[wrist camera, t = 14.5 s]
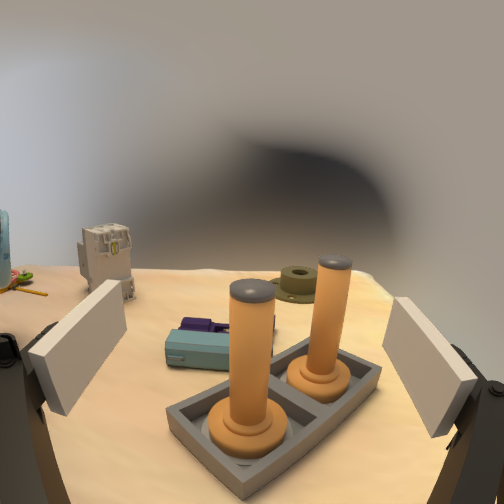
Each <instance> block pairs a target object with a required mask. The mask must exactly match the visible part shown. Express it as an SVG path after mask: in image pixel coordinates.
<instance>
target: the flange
mask: <svg viewBox="0 0 504 504" xmlns="http://www.w3.org/2000/svg"><path fill="white" fill-rule="evenodd" d="M317 274H318V272H317V271H316V270H314V269H311V268H307V267H300V266H292V267H286V268H283V269H282V270H281V277H280V278H276V279H273V280H270V281H269V282H271V283H273V284H276V285H275V286H276V296H275V298H276V299H278V300H281V301H285V302H289V303H297V304H311V303H314V301H315V293H316V284H317ZM289 297H293V298H294V299H291V298H289Z"/></svg>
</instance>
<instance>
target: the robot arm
mask: <svg viewBox="0 0 504 504" xmlns="http://www.w3.org/2000/svg"><path fill="white" fill-rule="evenodd" d="M11 280H12V274H11V262H10V247H9V217H8V213H7V212H6V211H1V210H0V289H2V288H6V287H8V286H9V285H10V283H11ZM126 331H127V327H126V320H125V312H124V304H123V296H122V287H121V281H118V280H109V279H107V280H106V281H105V282H104V283H102V284H101V285H100V286H99V287H98V288H97V289H95V290H94V291H93V292H92V293H91V294H90V295H89V296H87V297H86V298H85V299H84V300H83V301H82V302H81V303H79V304H78V305H77V306H76V307H75V308H74V309H73V310H72V311H71V312H69V313H68V314H67V315H66V316H65V317H64V318H63V319H62V320H61V321H60V322H55V323H53V324H51V325H49V326H47V327H46V328H45V329H44V330H43V331H42V332H41V334H38V335H37V336H36V337H35V339H33V340H32V341H31V342H30V343H29V344H28V345H27V346H25V347H24V348H23V349H22V350H21V351H19V348H18V345H17V342H16V339H15V336H13V335H12V334H9V333H0V504H71V502H70V500H69V497H68V495H67V492H66V489H65V486H64V483H63V480H62V478H61V474H60V471H59V468H58V465H57V462H56V458H55V455H54V451H53V448H52V444H51V440H50V436H49V432H48V428H47V424H46V419H45V415H44V411H43V409H42V407H41V405H42V404H43V403H44V401H45V400H46V401H47V404H48V406H49V408H50V411H52V412H55V413H57V414H60V415H63V416H66V417H67V415H68V414H69V412H70V411H71V409H72V408H73V406H74V405H75V403H76V402H77V400H78V399H79V397H80V396H81V394H82V393H83V391H84V390H85V389H86V387H87V386H88V384H89V383H90V381H91V380H92V378H93V377H94V376H95V374H96V373H97V371H98V370H99V368H100V367H101V366H102V364H103V363H104V361H105V360H106V358H107V357H108V356H109V354H110V353H111V351H112V350H113V349H114V347H115V346H116V345H117V343H118V342H119V340H120V339H121V338H122V336H123V335H124V334H125V332H126ZM382 346H383V348H384V350H385V351H386V353H387V355H388V357H389V359H390V360H391V362H392V364H393V366H394V368H395V369H396V371H397V373H398V375H399V377H400V379H401V380H402V382H403V384H404V386H405V388H406V390H407V392H408V394H409V396H410V397H411V399H412V401H413V403H414V405H415V407H416V409H417V411H418V413H419V415H420V417H421V419H422V421H423V423H424V425H425V427H426V429H427V431H428V433H429V435H430V437H431V438H435V437H439V436H444V435H447V434H448V433H449V431H450V429H451V428H452V426H453V424H455V426H456V427H457V429H458V431H457V432H456V434H455V435H454V437H453V439H452V440H451V442H450V443H449V445H448V446H447V448H446V450H448V449H449V448H450V449H449V452H448V454H447V457H446V460H445V462H444V465H443V467H442V470H441V472H440V475H439V477H438V480H437V482H436V484H435V486H434V489H433V491H432V493H431V495H430V497H429V499H428V502H427V504H495V500H496V496H497V504H504V384H502V383H500V382H498V381H493V380H491V381H487V380H486V379H485V377H484V376H483V375H482V374H481V373H480V371H479V370H478V369H477V368H476V366H475V365H474V364H472V362H471V361H470V360H469V358H467V356H466V355H465V354H464V352H463V351H462V350H461V349H459V348H458V347H456V346H455V345H453V344H449V343H448V342H447V340H446V339H445V338H444V337H443V336H442V335H441V333H440V332H439V331H438V330H437V329H436V328H435V327H434V325H433V324H432V323H431V322H430V321H429V320H428V319H427V318H426V316H424V314H423V313H422V312H421V311H420V310H419V309H418V308H417V307H416V306H415V305H414V303H413V302H412V301H411V300H410V299H409V298H408V297H394V301H393V305H392V309H391V313H390V318H389V321H388V325H387V329H386V333H385V337H384V340H383V344H382Z"/></svg>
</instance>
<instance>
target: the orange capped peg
mask: <svg viewBox="0 0 504 504" xmlns="http://www.w3.org/2000/svg"><path fill="white" fill-rule="evenodd" d="M351 269H352V260H351V259H350V258H348V257H345V256H340V255H322V256H320V257H319V265H318V274H317V284H316V293H315V301H314V310H313V318H312V325H311V333H310V340H309V347H308V354H307V355H304V356H301V357H298V358H296V359H294V360H293V361H292V362H291V363H290V364H289V366H288V369H287V377H286V384H288V385H290V386H291V387H293V388H295V389H297V390H298V391H300V392H302V393H303V394H305V395H307V396H309V397H310V398H312V399H314V400H316V401H318V402H319V403H321V404H328V403H332V402H335V401H337V400H338V399H339V398H341V397H342V396H343V395H344V394H345V393H346V392H347V389H348V385H349V381H350V376H351V374H350V370H349V368H348V367H347V366H346V365H345V364H344V363H343V362H341V361H340V360H338V359H337V354H338V349H339V344H340V338H341V333H342V327H343V322H344V316H345V310H346V303H347V297H348V290H349V284H350V276H351Z"/></svg>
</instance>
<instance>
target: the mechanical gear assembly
mask: <svg viewBox="0 0 504 504" xmlns="http://www.w3.org/2000/svg"><path fill="white" fill-rule="evenodd" d="M22 271H23V274H19V272H18V271H16V270H11V273H14V274H12V276H14V275H16V277H15V278H12V280H11V283H10V285H9V286H8V287H6V288H2V289H0V294H1V293H3V292H5V291H7V290H8V289H13V290H14V291H15V290H20V291H24V292H29V293H33V294H38V295H43V296H48V294H47V293H42V292H37V291H32V290H27V289H22V288H19V287H18V284H19V283H21V282H23V281H26V280H29V279H31V278H32V277H33V274H32V273H29V272H28V273H26V272H25V269H23V270H22Z"/></svg>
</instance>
